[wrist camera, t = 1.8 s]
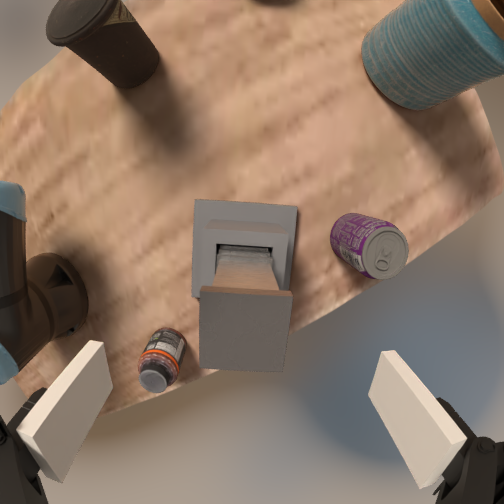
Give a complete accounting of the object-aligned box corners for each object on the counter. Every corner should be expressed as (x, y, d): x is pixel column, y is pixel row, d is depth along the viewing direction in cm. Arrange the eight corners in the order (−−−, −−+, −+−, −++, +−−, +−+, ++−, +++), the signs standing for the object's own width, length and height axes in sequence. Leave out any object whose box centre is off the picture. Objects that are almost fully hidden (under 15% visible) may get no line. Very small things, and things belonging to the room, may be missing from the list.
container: (172, 56, 36) (130, -18, 16) (133, 100, 37) (65, 51, 17) (135, 35, 34) (84, -32, 15) (98, 76, 36) (27, 29, 16)
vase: (439, 124, 39) (560, 100, 13) (356, 94, 38) (466, 19, 12) (436, 48, 35) (530, -2, 9) (358, 16, 34) (433, -74, 8)
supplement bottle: (174, 363, 46) (160, 405, 35) (146, 343, 45) (124, 382, 34) (194, 340, 45) (182, 382, 34) (163, 319, 44) (143, 356, 33)
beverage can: (361, 264, 44) (398, 290, 32) (321, 251, 43) (349, 274, 31) (377, 222, 42) (419, 234, 30) (338, 205, 41) (372, 213, 30)
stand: (193, 293, 44) (177, 329, 32) (196, 199, 41) (178, 203, 29) (285, 299, 44) (300, 336, 33) (295, 206, 41) (315, 213, 30)
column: (221, 272, 41) (199, 367, 18) (223, 232, 40) (199, 290, 17) (261, 274, 41) (282, 372, 19) (264, 235, 40) (293, 296, 18)
